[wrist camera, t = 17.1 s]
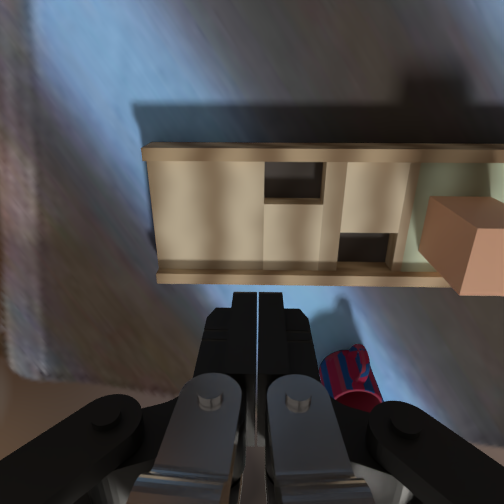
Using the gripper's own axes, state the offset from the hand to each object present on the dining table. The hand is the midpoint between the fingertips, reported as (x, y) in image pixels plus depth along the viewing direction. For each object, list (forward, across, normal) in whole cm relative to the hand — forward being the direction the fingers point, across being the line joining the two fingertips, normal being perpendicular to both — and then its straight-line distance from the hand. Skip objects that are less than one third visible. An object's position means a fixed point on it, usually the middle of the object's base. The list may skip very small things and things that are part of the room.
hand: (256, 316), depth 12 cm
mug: (+29, -12, +27) cm, 41 cm away
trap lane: (+29, -7, +6) cm, 31 cm away
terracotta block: (+26, -20, +7) cm, 34 cm away
